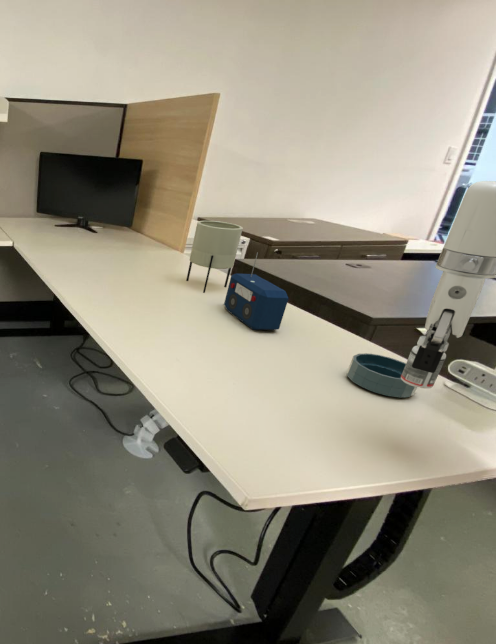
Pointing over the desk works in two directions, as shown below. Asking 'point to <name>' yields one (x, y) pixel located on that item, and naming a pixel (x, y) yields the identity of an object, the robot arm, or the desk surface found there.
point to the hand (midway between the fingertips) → (424, 363)
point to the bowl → (379, 375)
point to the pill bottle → (419, 376)
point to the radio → (256, 301)
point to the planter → (215, 246)
